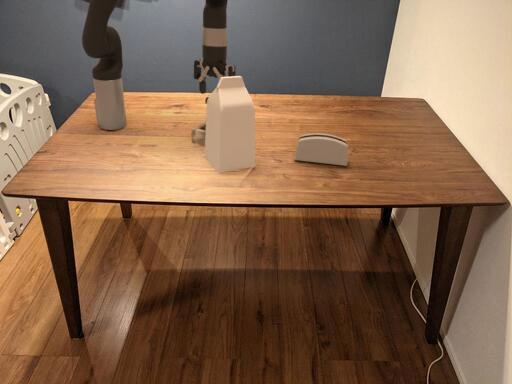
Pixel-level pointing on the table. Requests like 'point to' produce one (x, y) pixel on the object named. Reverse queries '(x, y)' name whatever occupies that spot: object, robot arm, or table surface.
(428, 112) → the table surface
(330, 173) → the table surface
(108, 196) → the table surface
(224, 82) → the milk
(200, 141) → the socket block
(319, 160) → the napkin holder
